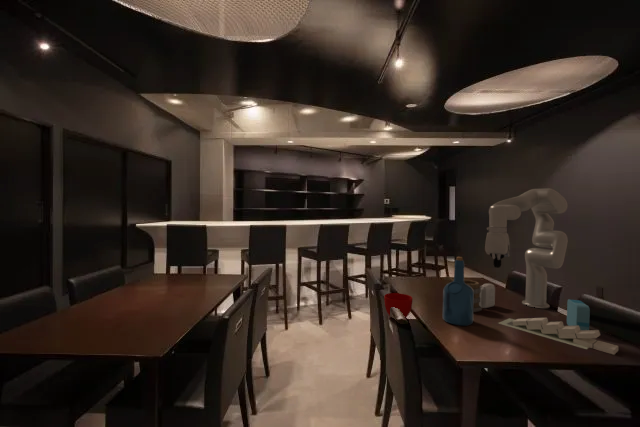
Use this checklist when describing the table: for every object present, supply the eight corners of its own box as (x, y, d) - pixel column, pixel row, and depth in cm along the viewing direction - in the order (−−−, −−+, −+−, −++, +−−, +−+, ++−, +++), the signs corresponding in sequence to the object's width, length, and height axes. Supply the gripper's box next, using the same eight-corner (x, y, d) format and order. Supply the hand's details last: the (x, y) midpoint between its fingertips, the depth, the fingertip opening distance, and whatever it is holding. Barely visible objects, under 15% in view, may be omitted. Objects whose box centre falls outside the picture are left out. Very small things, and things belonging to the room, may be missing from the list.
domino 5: (578, 334, 128) (618, 345, 118) (578, 339, 128) (618, 350, 118) (573, 338, 124) (614, 349, 115) (573, 342, 125) (614, 354, 115)
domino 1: (517, 318, 146) (546, 317, 137) (519, 322, 146) (548, 321, 136) (512, 321, 142) (541, 320, 133) (513, 325, 142) (543, 324, 133)
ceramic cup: (410, 312, 159) (411, 292, 159) (412, 323, 142) (413, 301, 142) (384, 309, 162) (384, 290, 161) (383, 320, 145) (384, 299, 145)
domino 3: (545, 326, 137) (578, 325, 128) (547, 330, 137) (580, 330, 128) (540, 329, 134) (574, 328, 125) (542, 333, 133) (576, 333, 124)
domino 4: (562, 330, 132) (598, 329, 123) (564, 335, 132) (600, 334, 123) (557, 333, 129) (594, 333, 120) (559, 338, 128) (596, 338, 119)
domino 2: (531, 322, 142) (562, 321, 133) (532, 326, 141) (563, 325, 132) (525, 325, 138) (557, 324, 129) (527, 329, 138) (559, 328, 128)
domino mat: (509, 319, 152) (509, 318, 152) (595, 342, 126) (595, 341, 126) (497, 324, 145) (497, 323, 145) (586, 350, 119) (586, 349, 119)
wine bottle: (449, 314, 156) (451, 254, 156) (477, 322, 147) (480, 257, 146) (436, 321, 146) (438, 256, 146) (466, 329, 137) (468, 260, 136)
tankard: (485, 309, 166) (486, 281, 166) (472, 313, 159) (473, 283, 158) (450, 299, 182) (451, 273, 182) (437, 303, 175) (438, 276, 175)
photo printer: (487, 304, 176) (488, 281, 176) (495, 306, 172) (496, 283, 172) (477, 306, 170) (478, 283, 170) (485, 309, 167) (486, 285, 166)
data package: (589, 335, 134) (590, 307, 134) (576, 333, 136) (577, 305, 135) (578, 325, 145) (579, 299, 145) (566, 324, 147) (567, 298, 147)
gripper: (478, 229, 160) (478, 265, 161) (510, 231, 148) (510, 270, 149) (486, 229, 165) (485, 264, 165) (517, 230, 153) (517, 268, 153)
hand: (497, 267), depth 157 cm, fingers closed
